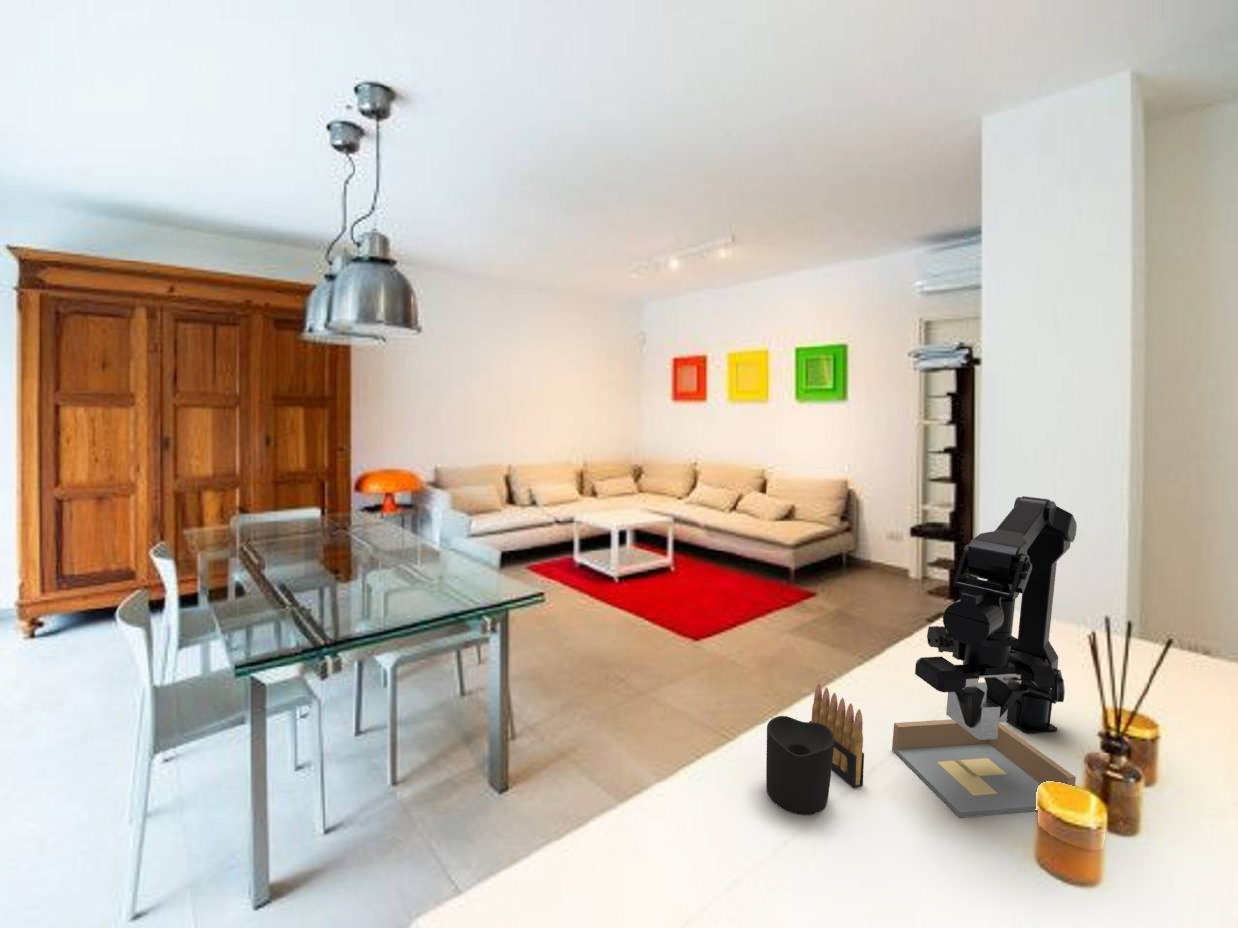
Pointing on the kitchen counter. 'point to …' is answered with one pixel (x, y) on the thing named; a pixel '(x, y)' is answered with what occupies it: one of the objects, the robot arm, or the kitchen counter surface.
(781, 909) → the kitchen counter surface
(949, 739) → the arena
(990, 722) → the angle bracket
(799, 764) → the pen holder
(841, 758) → the ammunition clip
